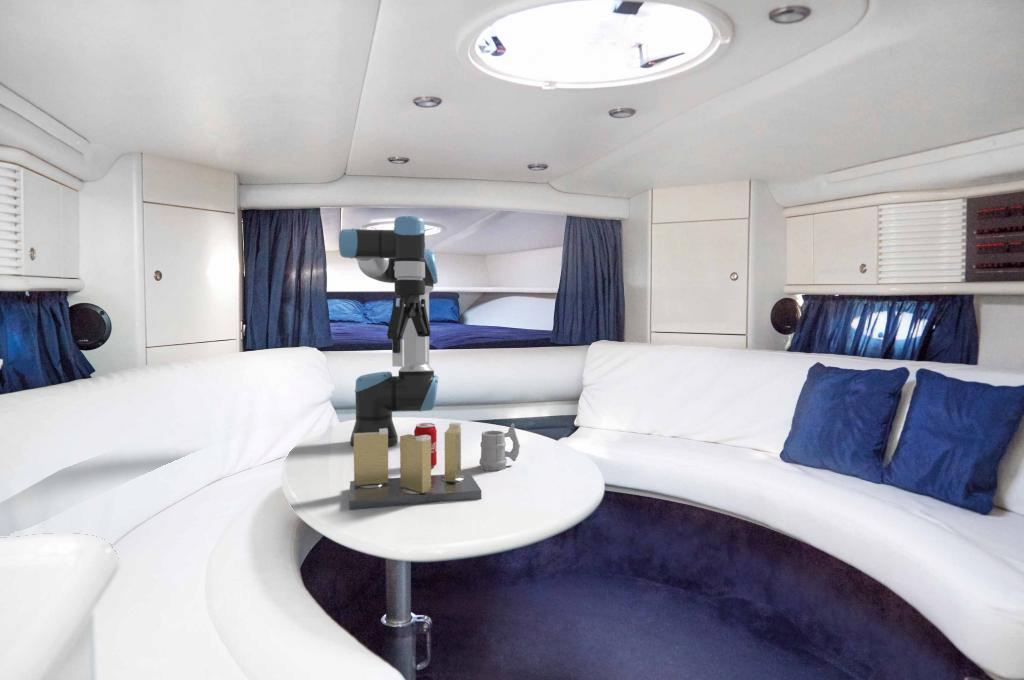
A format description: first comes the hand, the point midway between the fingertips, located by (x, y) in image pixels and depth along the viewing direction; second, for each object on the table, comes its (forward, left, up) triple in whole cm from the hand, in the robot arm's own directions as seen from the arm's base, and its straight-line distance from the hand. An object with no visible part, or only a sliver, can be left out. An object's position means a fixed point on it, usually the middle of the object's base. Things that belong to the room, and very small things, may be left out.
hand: (410, 363), depth 146 cm
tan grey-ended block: (+12, 0, -28) cm, 31 cm away
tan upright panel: (+5, +10, -28) cm, 30 cm away
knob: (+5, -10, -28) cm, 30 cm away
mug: (-10, +26, -31) cm, 41 cm away
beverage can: (-14, +5, -31) cm, 34 cm away
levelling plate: (+8, 0, -31) cm, 32 cm away
